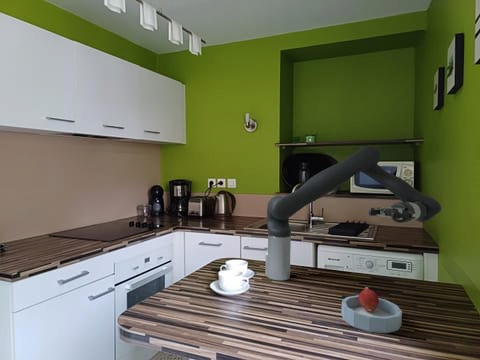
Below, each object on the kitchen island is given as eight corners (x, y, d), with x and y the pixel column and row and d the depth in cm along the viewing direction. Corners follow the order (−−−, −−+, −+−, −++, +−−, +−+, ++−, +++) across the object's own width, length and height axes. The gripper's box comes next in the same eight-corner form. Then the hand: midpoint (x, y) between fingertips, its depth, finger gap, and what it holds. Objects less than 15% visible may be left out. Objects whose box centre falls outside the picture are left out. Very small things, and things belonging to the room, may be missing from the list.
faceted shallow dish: (333, 320, 96) (334, 307, 96) (352, 303, 108) (353, 291, 108) (392, 338, 86) (393, 323, 86) (405, 317, 98) (406, 304, 98)
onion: (363, 317, 100) (360, 294, 107) (382, 315, 98) (378, 291, 104) (357, 306, 98) (354, 283, 104) (377, 304, 95) (373, 281, 101)
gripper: (387, 200, 129) (363, 201, 120) (425, 204, 117) (401, 205, 108) (386, 219, 129) (362, 222, 120) (424, 224, 118) (400, 228, 108)
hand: (380, 214), depth 114 cm, fingers open, 8 cm apart
